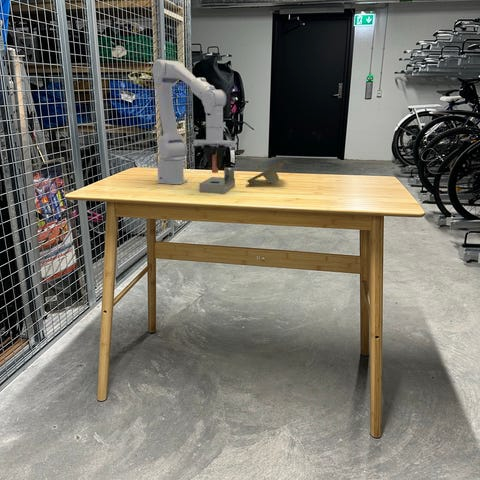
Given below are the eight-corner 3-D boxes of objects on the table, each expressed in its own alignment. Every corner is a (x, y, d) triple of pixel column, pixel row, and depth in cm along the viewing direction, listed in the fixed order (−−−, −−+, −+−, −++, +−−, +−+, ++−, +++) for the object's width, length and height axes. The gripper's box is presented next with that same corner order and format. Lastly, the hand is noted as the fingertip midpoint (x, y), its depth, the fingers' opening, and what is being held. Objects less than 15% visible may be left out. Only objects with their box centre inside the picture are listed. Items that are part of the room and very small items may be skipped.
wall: (260, 199, 156) (291, 172, 154) (245, 180, 156) (276, 154, 153) (261, 196, 172) (290, 172, 170) (248, 179, 172) (276, 155, 169)
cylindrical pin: (212, 171, 149) (212, 154, 148) (218, 171, 149) (218, 154, 147) (211, 172, 147) (211, 155, 145) (217, 172, 147) (217, 155, 145)
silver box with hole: (199, 192, 148) (198, 172, 145) (212, 184, 161) (211, 166, 158) (224, 193, 145) (224, 173, 143) (235, 186, 158) (235, 167, 156)
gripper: (190, 127, 141) (191, 168, 146) (231, 128, 138) (231, 170, 142) (197, 126, 148) (198, 165, 152) (237, 127, 144) (237, 167, 149)
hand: (214, 167), depth 148 cm, fingers closed on cylindrical pin, 2 cm apart
